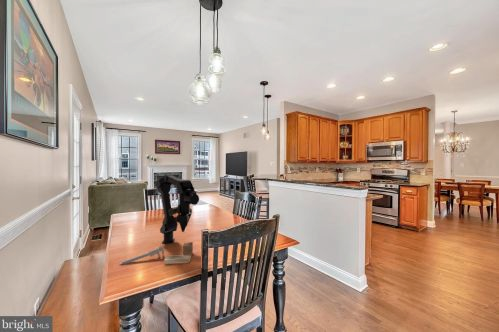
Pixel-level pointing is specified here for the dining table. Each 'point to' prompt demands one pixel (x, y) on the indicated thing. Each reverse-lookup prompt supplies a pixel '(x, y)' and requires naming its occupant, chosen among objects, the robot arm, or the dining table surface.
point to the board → (177, 259)
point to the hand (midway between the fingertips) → (184, 229)
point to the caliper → (145, 255)
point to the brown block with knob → (188, 248)
